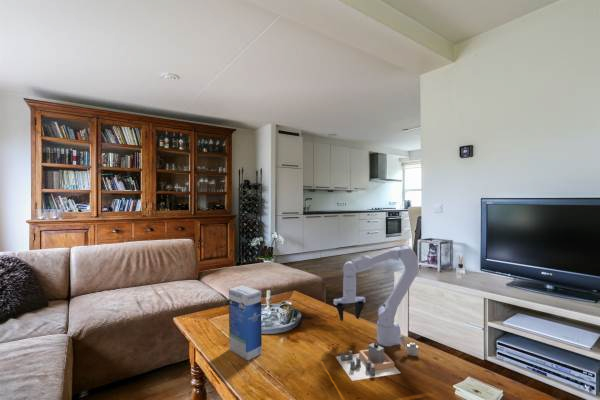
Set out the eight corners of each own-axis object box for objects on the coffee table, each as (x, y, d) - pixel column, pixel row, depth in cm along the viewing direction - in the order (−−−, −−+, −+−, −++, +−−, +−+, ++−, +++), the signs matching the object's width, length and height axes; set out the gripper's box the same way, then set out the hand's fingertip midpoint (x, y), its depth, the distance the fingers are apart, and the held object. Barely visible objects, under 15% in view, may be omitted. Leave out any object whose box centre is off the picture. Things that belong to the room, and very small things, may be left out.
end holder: (379, 352, 122) (379, 347, 122) (394, 367, 112) (394, 362, 112) (359, 355, 120) (359, 350, 120) (372, 371, 109) (372, 365, 109)
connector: (373, 357, 118) (373, 340, 118) (383, 363, 114) (383, 345, 114) (368, 360, 117) (368, 342, 117) (378, 366, 113) (378, 347, 112)
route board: (378, 352, 124) (378, 343, 124) (400, 375, 108) (401, 364, 108) (335, 358, 119) (335, 349, 119) (352, 383, 104) (352, 372, 104)
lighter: (417, 356, 121) (417, 336, 121) (418, 358, 120) (418, 338, 120) (399, 353, 124) (399, 333, 123) (399, 355, 122) (399, 335, 122)
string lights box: (262, 354, 123) (262, 291, 122) (247, 361, 117) (247, 295, 117) (242, 343, 132) (242, 284, 131) (227, 349, 126) (227, 288, 126)
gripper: (360, 285, 140) (360, 314, 140) (331, 287, 136) (330, 317, 137) (367, 289, 133) (367, 320, 133) (336, 292, 130) (336, 323, 130)
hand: (349, 319), depth 135 cm, fingers open, 7 cm apart
